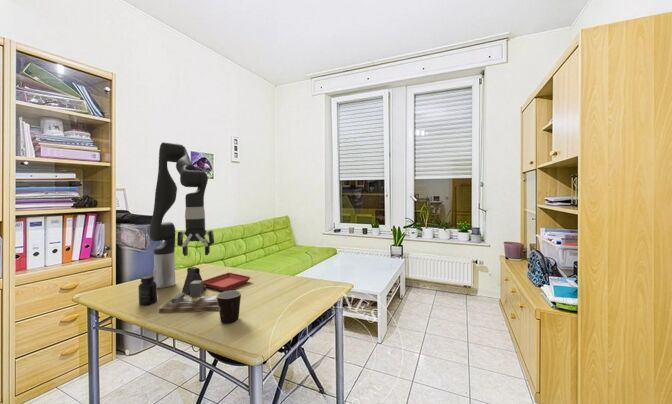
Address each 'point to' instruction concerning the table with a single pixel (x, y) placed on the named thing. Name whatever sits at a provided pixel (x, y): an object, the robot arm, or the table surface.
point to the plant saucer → (226, 281)
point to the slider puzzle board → (190, 304)
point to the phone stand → (191, 279)
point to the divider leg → (196, 290)
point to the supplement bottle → (147, 291)
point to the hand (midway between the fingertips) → (196, 255)
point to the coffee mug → (229, 306)
